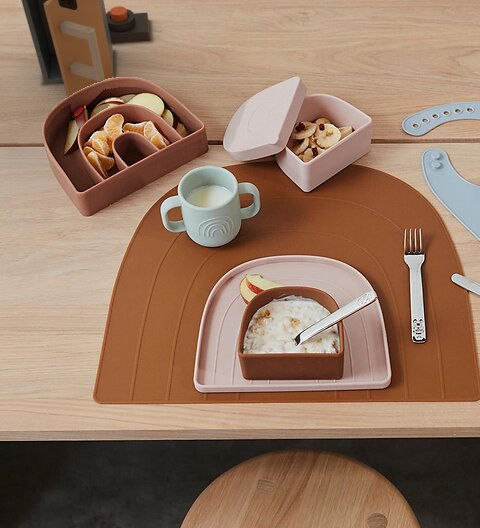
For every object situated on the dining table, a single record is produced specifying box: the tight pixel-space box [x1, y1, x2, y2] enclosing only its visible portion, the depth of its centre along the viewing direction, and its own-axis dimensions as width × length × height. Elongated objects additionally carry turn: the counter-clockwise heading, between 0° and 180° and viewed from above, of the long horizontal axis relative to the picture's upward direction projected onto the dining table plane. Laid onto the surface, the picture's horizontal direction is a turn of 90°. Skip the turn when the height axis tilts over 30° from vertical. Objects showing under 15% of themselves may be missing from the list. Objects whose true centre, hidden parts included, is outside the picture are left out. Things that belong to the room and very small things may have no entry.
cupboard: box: [21, 0, 114, 84], centre depth 142 cm, size 10×14×24 cm
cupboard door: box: [44, 0, 115, 119], centre depth 134 cm, size 8×14×24 cm, turn 155°
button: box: [109, 5, 128, 22], centre depth 156 cm, size 4×4×2 cm
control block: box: [106, 8, 151, 44], centre depth 158 cm, size 12×8×4 cm, turn 98°
